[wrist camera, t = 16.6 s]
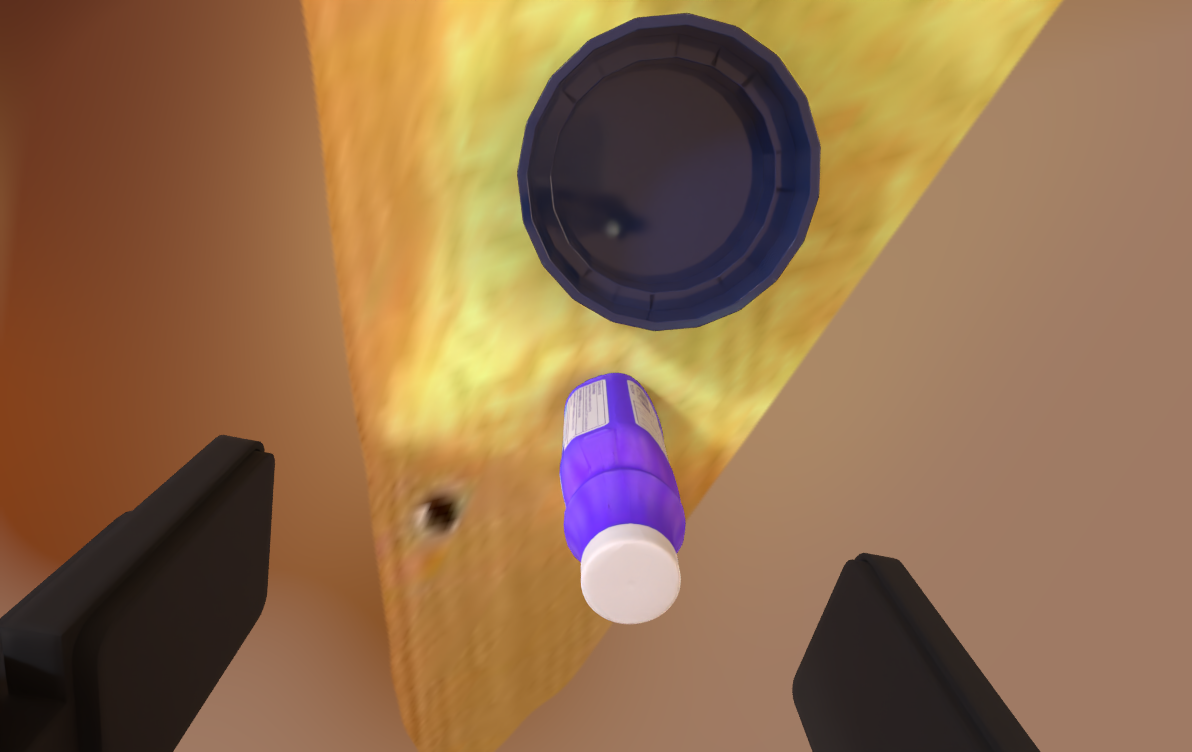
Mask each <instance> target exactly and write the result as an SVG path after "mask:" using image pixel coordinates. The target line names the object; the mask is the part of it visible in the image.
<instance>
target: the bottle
mask: <svg viewBox="0 0 1192 752" xmlns="http://www.w3.org/2000/svg"><path fill="white" fill-rule="evenodd" d="M560 481H561V488H562V493H563V498H564V502H565V506H566V510H565V515H564V532H565V537H566V541H567V544H568V547H569V548H570V550H571V552H572V553H573V555H574V556H575V558H576V559H578V560H579V561H580V562H581V587H582V592H583V595H584V597H585V600H586V602H587V603H588V605H589V606H590V607H591V608H592V609H593V610H594V611H595V612H596V613H597V614H599V615H600V616H602V617H603V618H605V619H607V620H609V621H612V622H616V623H621V624H639V623H643V622H647V621H649V620H652V619H655V618H657V617H658V616H660V615H662V614H663V613H664V612H665V611H667V610H668V609H669V607H670V606H671V605H672V604H673V602H674V601H675V600H676V598H677V595H678V593H679V590H680V584H681V575H680V570H679V566H678V558H677V553H678V551H679V549H680V547H681V545H682V543H683V540H684V533H685V514H684V510H683V506H682V504H681V501H680V496H679V491H678V487H677V484H676V481H675V477H674V474H673V471H672V469H671V467H670V464H669V460H668V456H667V453H666V449H665V444H664V439H663V432H662V428H661V424H660V421H659V418H658V415H657V412H656V410H655V408H654V406H653V403H652V401H651V399H650V398H649V396H648V394H647V392H646V391H645V390H644V388H643V387H642V386H641V385H640V384H639V383H638V382H637V381H636V380H635V379H634V378H632V377H631V376H629V375H626V374H622V373H609V374H605V375H600V376H598V377H595V378H592V379H589V380H587V381H585V382H584V383H582V384H581V385H579V386H577V387H576V388H575V389H574V390H573V391H572V392H571V393H570V395H569V397H568V398H567V401H566V404H565V410H564V432H563V445H562V459H561V464H560Z"/></svg>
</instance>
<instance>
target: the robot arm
mask: <svg viewBox="0 0 1192 752" xmlns="http://www.w3.org/2000/svg"><path fill="white" fill-rule="evenodd" d="M274 468H275V459H274V455H273V454H271V453H266V452H264V446H263V444H262V443H261V442H259V441H253V440H248V439H242V438H237V437H231V436H226V435H220V436H218V437H217V438H215V439H214V440H213V441H212V442H211V443H210V444H208V445H207V446H206V447H205V448H204V449H203V450H201V451H200V452H199V453H198V454H197V455H196V456H195V457H193V458H192V459H191V460H190V461H189V462H188V463H187V464H186V465H184V466H183V467H182V468H181V469H180V470H179V471H177V472H176V473H175V474H174V475H173V476H172V477H170V479H168V480H167V481H166V482H165V483H164V484H162V485H161V486H160V487H159V488H158V489H157V490H156V491H154V492H153V493H152V494H151V495H150V496H149V497H148V498H146V499H145V500H144V501H143V502H142V503H141V504H140V505H138V506H137V507H136V508H135V509H134V510H133V511H129V512H125V513H124V514H122V515H121V516H120V517H118V518H116V519H115V520H114V521H113V522H112V523H111V524H109V525H108V526H107V527H106V528H105V529H104V530H102V531H101V532H100V533H99V534H98V535H97V536H95V537H94V538H93V539H92V540H91V541H90V542H89V543H87V544H86V545H85V546H84V547H83V548H82V549H81V550H79V551H78V552H77V553H76V554H75V555H73V556H72V557H71V558H70V559H69V560H68V561H66V562H65V563H64V564H63V565H62V566H61V567H59V568H58V569H57V570H56V571H55V572H54V573H53V574H51V575H50V576H49V577H48V578H47V579H46V580H44V581H43V582H42V583H41V584H40V585H39V586H37V587H36V588H35V589H34V590H33V591H32V592H30V593H29V594H28V595H27V596H26V597H25V598H24V599H22V600H21V601H20V602H19V603H18V604H17V605H15V606H14V607H13V608H12V609H11V610H9V611H8V612H7V613H6V614H5V615H4V616H2V617H1V618H0V752H173V751H174V749H175V748H176V746H177V745H178V743H179V742H180V740H181V738H182V737H183V735H184V734H185V732H186V731H187V729H188V727H189V726H190V724H191V723H192V721H193V719H194V718H195V717H196V715H197V713H198V712H199V710H200V709H201V707H202V706H203V704H204V703H205V701H206V699H207V698H208V696H209V695H210V693H211V692H212V690H213V689H214V687H215V686H216V684H217V682H218V681H219V679H220V678H221V676H222V675H223V673H224V671H225V670H226V668H227V667H228V665H229V664H230V662H231V661H232V659H233V657H234V656H235V654H236V653H237V651H238V650H239V648H240V647H241V645H242V643H243V642H244V640H245V639H246V637H247V635H248V634H249V633H250V631H251V629H252V628H253V626H254V625H255V623H256V622H257V620H258V618H259V616H260V615H261V612H262V610H263V607H264V604H265V601H266V597H267V586H268V569H269V553H270V535H271V519H272V502H273V501H272V500H273V484H274ZM792 693H793V699H794V703H795V706H796V708H797V711H798V714H799V717H800V719H801V722H802V725H803V727H804V730H805V733H806V735H807V738H808V741H809V743H810V746H811V749H812V751H813V752H1040V751H1039V749H1038V748H1037V747H1036V745H1035V744H1034V743H1033V741H1032V740H1031V739H1030V737H1029V736H1028V734H1027V733H1026V732H1025V730H1024V729H1023V728H1022V726H1021V725H1020V724H1019V722H1018V721H1017V719H1016V718H1015V717H1014V715H1013V714H1012V713H1011V711H1010V710H1009V709H1008V707H1007V706H1006V705H1005V703H1004V702H1003V700H1002V699H1001V698H1000V696H999V695H998V694H997V692H996V691H995V690H994V688H993V687H992V685H991V684H990V683H989V681H988V680H987V678H986V677H985V676H984V674H983V673H982V672H981V670H980V669H979V668H978V666H977V665H976V664H975V662H974V661H973V659H972V658H971V657H970V655H969V654H968V653H967V651H966V650H965V649H964V647H963V646H962V644H961V643H960V642H959V640H958V639H957V638H956V636H955V635H954V634H953V632H952V631H951V630H950V628H949V627H948V625H947V624H946V623H945V621H944V620H943V619H942V617H941V616H940V615H939V613H938V612H937V610H936V609H935V608H934V606H933V605H932V604H931V602H930V601H929V600H928V598H927V597H926V595H925V594H924V593H923V591H922V590H921V589H920V587H919V586H918V584H917V583H916V582H915V580H914V579H913V578H912V576H911V575H910V574H909V572H908V571H907V570H906V568H905V567H904V565H903V564H902V563H901V562H900V561H899V560H897V559H894V558H889V557H884V556H879V555H873V554H868V553H862V554H859V555H858V556H857V557H856V558H855V560H849V561H848V562H846V564H845V565H844V567H843V569H842V572H841V574H840V576H839V579H838V581H837V583H836V585H835V587H834V590H833V592H832V594H831V596H830V599H829V601H828V603H827V605H826V608H825V610H824V612H823V615H822V616H821V619H820V621H819V623H818V626H817V628H816V630H815V632H814V635H813V637H812V639H811V641H810V643H809V646H808V648H807V650H806V652H805V655H804V657H803V659H802V661H801V664H800V666H799V668H798V670H797V673H796V675H795V678H794V680H793V692H792Z"/></svg>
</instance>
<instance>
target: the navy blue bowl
mask: <svg viewBox="0 0 1192 752" xmlns="http://www.w3.org/2000/svg"><path fill="white" fill-rule="evenodd" d="M820 151H821V147H820V142H819V138H818V135H817V131H816V128H815V124H814V121H813V117H812V114H811V110H810V107H809V103H808V100H807V98H806V95H805V94H804V92H803V91H802V90H801V88H800V87H799V85H798V84H797V82H796V81H795V79H794V78H793V77H792V75H791V74H790V72H789V71H788V69H787V68H786V66H785V65H784V64H783V62H782V61H781V59H780V58H779V57H778V56H777V55H776V54H775V53H774V52H772V51H771V50H769V49H768V48H767V47H765V46H764V45H762V44H761V43H760V42H758V41H757V40H755V39H754V38H753V37H751V36H750V35H748V34H747V33H746V32H744V31H743V30H741V29H740V28H739V27H736V26H734V25H731V24H727V23H723V22H719V21H716V20H712V19H708V18H705V17H701V16H697V15H694V14H690V13H688V14H687V13H681V14H670V15H660V16H649V17H638V18H634V19H632V20H630V21H628V22H626V23H624V24H622V25H620V26H617V27H615V28H613V29H611V30H609V31H607V32H605V33H602V34H600V35H598V36H596V37H594V38H592V39H590V40H589V41H587V42H586V43H585V44H584V45H583V46H582V47H581V48H580V49H579V50H578V51H577V52H576V53H575V54H574V55H573V56H572V57H571V58H570V59H568V60H567V61H566V62H565V63H564V64H563V65H562V66H561V67H560V68H559V69H558V70H557V71H556V72H555V73H554V74H553V75H552V76H551V78H550V79H549V81H548V83H547V85H546V87H545V88H544V90H543V92H542V94H541V96H540V98H539V100H538V102H537V104H536V105H535V107H534V109H533V111H532V113H531V115H530V117H529V119H528V121H527V123H526V127H525V133H524V138H523V143H522V149H521V154H520V160H519V165H518V171H517V177H518V185H519V193H520V202H521V210H522V218H523V223H524V225H525V228H526V230H527V232H528V234H529V237H530V239H531V241H532V243H533V245H534V248H535V250H536V252H537V254H538V257H539V259H540V261H541V263H542V265H543V266H544V268H545V269H546V270H547V271H548V272H549V273H550V274H551V275H552V277H553V278H554V279H555V280H556V281H557V282H558V283H559V284H560V285H561V287H562V288H563V289H564V290H565V291H566V292H567V293H568V294H569V295H570V297H571V298H572V299H574V300H575V301H577V302H579V303H580V304H582V305H584V306H585V307H587V308H589V309H591V310H592V311H594V312H596V313H597V314H599V315H601V316H603V317H604V318H606V319H608V320H609V321H612V322H615V323H620V324H624V325H629V326H633V327H638V328H642V329H647V330H651V331H662V330H673V329H684V328H696V327H700V326H703V325H705V324H708V323H710V322H712V321H715V320H717V319H720V318H722V317H725V316H727V315H730V314H732V313H735V312H737V311H739V310H741V309H742V308H744V307H745V306H746V305H747V304H749V303H750V302H751V301H752V300H754V299H755V298H756V297H757V296H759V295H760V294H761V293H762V292H764V291H765V290H766V289H767V288H768V287H770V286H771V285H772V284H773V283H775V282H776V281H777V280H778V278H779V277H780V275H781V274H782V272H783V271H784V270H785V268H786V267H787V265H788V264H789V262H790V261H791V259H792V258H793V257H794V255H795V254H796V252H797V251H798V249H799V248H800V247H801V245H802V244H803V242H804V240H805V237H806V234H807V231H808V228H809V225H810V222H811V219H812V216H813V213H814V210H815V207H816V204H817V201H818V198H819V186H820Z"/></svg>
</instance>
